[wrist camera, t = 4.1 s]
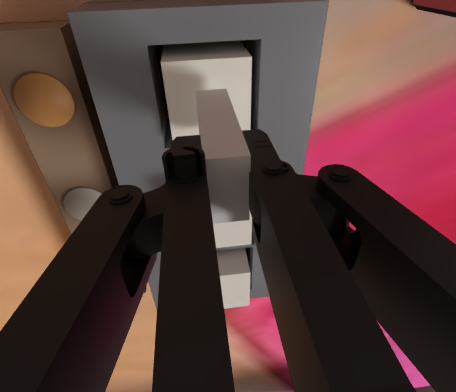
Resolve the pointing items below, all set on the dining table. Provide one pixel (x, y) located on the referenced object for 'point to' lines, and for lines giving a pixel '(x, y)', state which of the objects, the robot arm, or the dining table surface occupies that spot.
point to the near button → (205, 80)
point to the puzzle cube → (437, 6)
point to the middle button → (233, 233)
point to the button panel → (197, 33)
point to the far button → (234, 277)
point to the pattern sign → (56, 113)
